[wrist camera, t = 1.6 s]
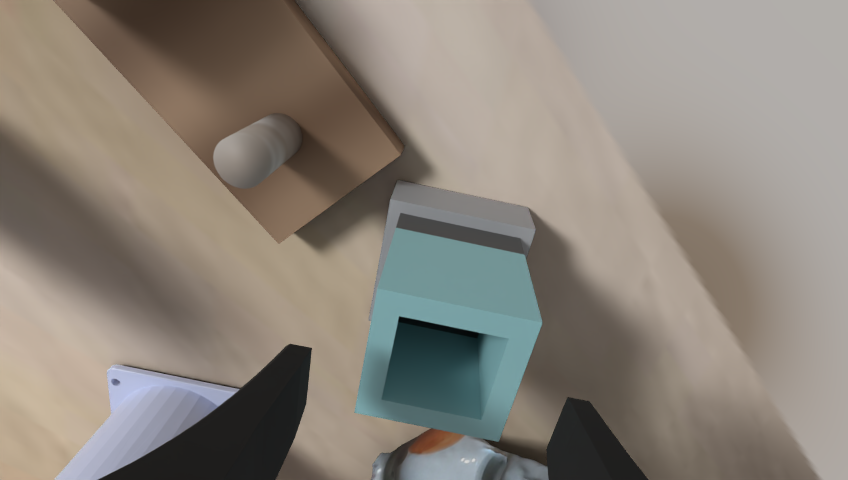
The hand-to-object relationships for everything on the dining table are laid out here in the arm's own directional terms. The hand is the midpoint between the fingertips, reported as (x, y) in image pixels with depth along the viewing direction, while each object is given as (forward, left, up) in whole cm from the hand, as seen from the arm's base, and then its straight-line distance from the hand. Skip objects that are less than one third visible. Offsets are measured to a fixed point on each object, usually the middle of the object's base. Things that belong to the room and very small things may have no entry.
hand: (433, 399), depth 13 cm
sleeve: (-1, 0, -8) cm, 8 cm away
